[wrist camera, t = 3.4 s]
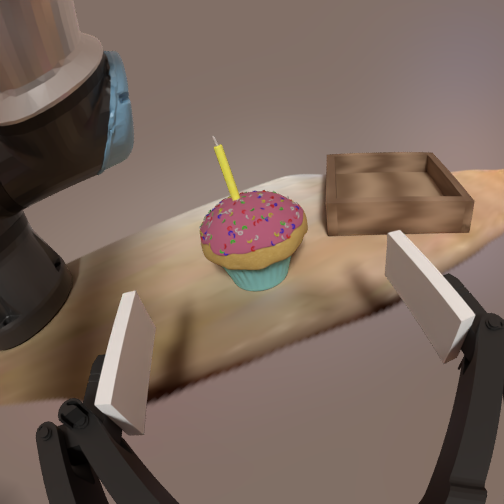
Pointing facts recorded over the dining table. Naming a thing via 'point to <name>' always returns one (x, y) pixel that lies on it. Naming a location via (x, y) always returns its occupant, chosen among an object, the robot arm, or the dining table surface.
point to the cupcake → (252, 233)
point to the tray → (394, 195)
